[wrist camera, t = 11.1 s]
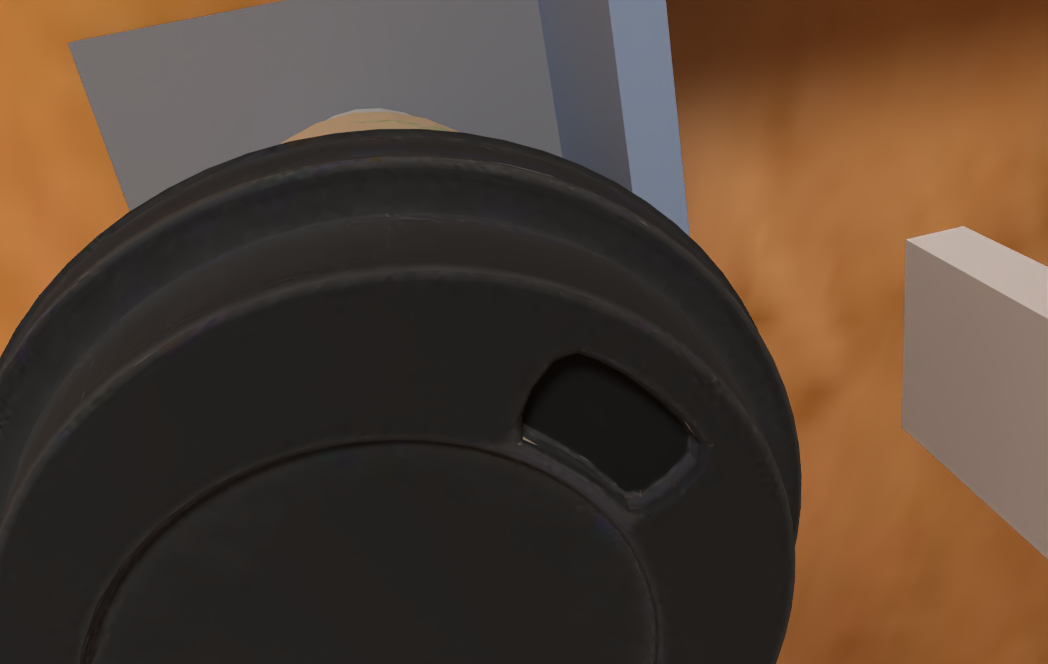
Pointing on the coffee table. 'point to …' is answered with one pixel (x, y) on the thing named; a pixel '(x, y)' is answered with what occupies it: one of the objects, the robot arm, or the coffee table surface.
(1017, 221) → the coffee table surface
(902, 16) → the coffee table surface
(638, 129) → the grey u-shaped wall
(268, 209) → the coffee cup
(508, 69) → the coaster
